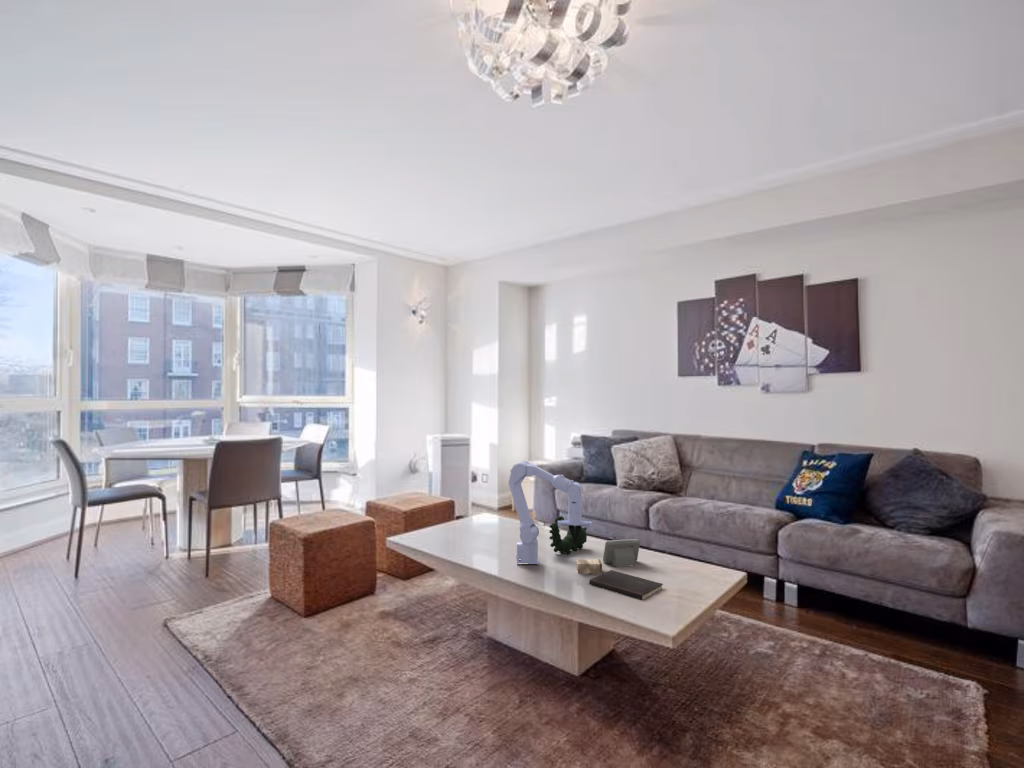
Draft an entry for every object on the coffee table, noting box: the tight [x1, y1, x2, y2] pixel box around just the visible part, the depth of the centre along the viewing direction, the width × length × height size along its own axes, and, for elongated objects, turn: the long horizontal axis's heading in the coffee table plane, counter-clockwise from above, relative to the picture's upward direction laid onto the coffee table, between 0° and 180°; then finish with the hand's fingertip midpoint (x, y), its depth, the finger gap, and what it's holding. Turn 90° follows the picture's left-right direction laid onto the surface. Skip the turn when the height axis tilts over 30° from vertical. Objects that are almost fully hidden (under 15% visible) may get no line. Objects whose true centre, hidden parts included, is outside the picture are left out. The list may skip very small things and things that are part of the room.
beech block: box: [576, 558, 603, 574], centre depth 217 cm, size 4×6×10 cm
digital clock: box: [602, 538, 641, 567], centre depth 227 cm, size 16×9×11 cm, turn 89°
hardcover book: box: [588, 569, 664, 601], centre depth 199 cm, size 16×23×2 cm
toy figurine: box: [548, 515, 588, 555], centre depth 244 cm, size 9×19×25 cm
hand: (574, 543), depth 222 cm, fingers closed
